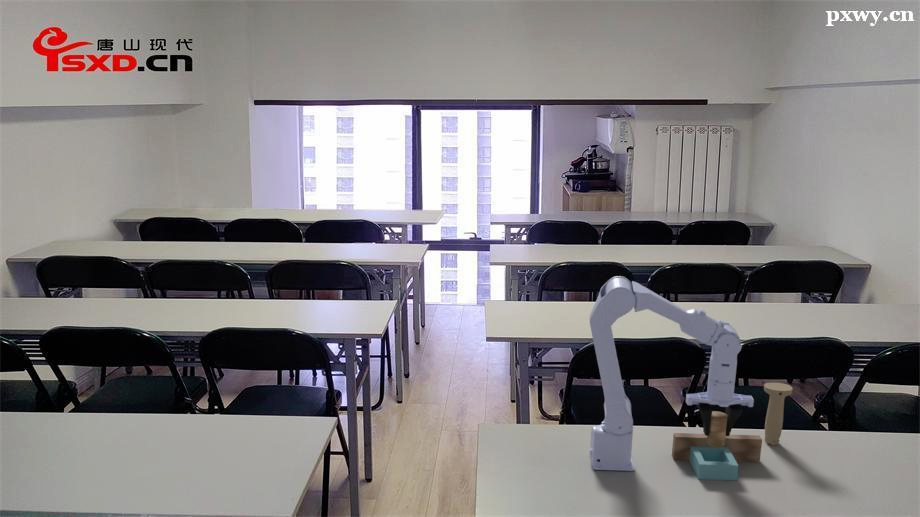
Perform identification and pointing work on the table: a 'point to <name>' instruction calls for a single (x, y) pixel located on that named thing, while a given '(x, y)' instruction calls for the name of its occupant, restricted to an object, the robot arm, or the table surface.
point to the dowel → (717, 429)
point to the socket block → (713, 463)
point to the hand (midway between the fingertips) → (716, 433)
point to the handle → (775, 411)
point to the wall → (739, 446)
